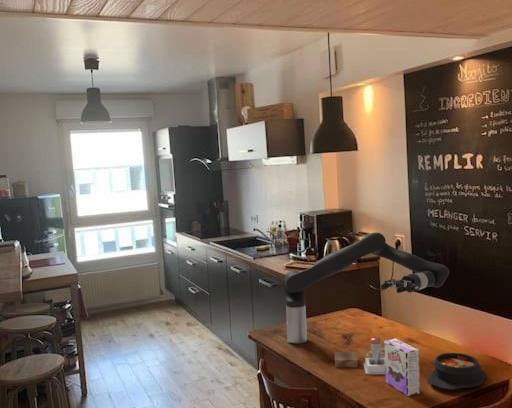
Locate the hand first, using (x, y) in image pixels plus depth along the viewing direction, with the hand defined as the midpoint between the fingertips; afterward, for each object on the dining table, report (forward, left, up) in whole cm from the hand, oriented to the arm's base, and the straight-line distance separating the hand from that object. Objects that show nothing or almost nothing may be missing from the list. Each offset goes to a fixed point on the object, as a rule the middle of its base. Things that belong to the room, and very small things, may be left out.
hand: (389, 288), depth 218 cm
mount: (-20, -5, -30) cm, 36 cm away
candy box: (-1, -29, -30) cm, 42 cm away
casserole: (+20, -24, -30) cm, 44 cm away
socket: (-8, -12, -30) cm, 33 cm away
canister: (-8, -12, -29) cm, 32 cm away
